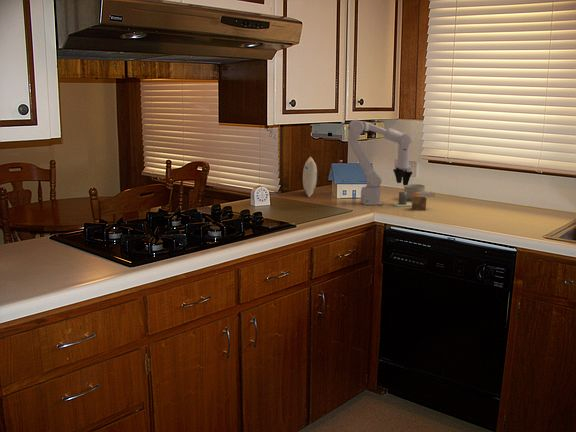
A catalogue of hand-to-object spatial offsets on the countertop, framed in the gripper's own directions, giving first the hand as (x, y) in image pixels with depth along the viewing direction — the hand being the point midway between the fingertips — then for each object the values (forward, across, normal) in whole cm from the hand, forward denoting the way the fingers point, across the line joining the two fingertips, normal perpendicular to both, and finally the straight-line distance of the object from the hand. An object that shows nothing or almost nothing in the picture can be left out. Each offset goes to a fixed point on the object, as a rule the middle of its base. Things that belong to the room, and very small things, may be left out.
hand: (402, 184), depth 303 cm
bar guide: (+10, -14, -3) cm, 18 cm away
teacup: (+11, +11, -12) cm, 20 cm away
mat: (+10, -3, +1) cm, 11 cm away
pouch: (+10, +33, +40) cm, 53 cm away
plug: (+10, -3, +1) cm, 10 cm away
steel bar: (+4, -14, -5) cm, 16 cm away
